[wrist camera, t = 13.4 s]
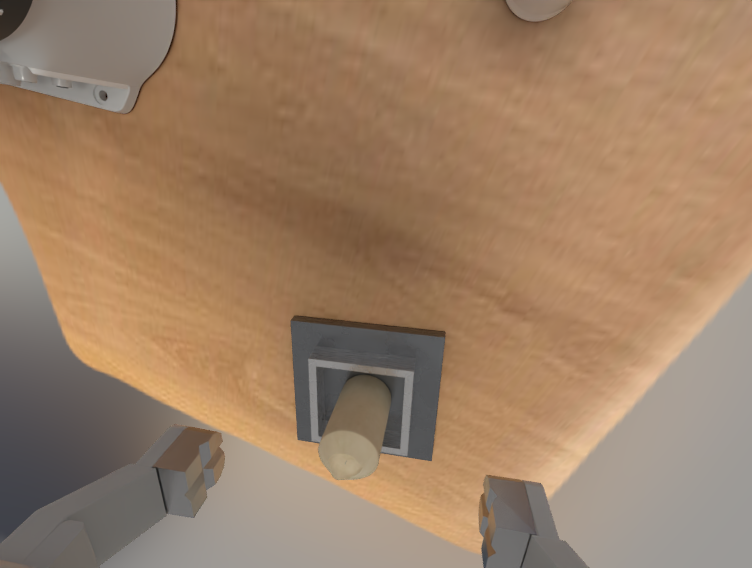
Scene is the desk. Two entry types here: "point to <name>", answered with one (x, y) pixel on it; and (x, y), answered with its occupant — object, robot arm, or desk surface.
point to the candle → (356, 429)
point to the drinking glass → (537, 8)
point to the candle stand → (375, 358)
